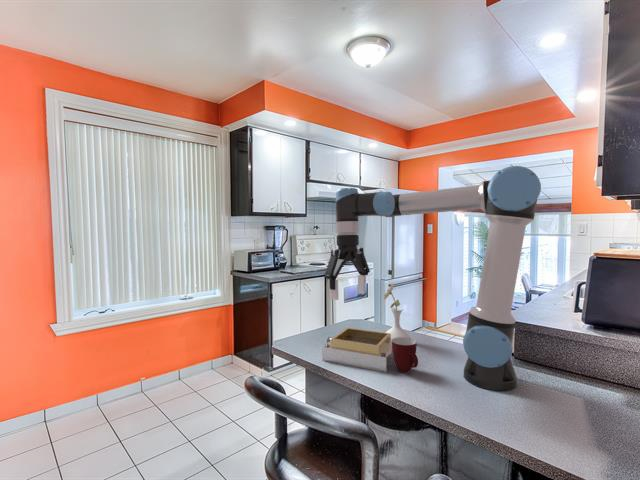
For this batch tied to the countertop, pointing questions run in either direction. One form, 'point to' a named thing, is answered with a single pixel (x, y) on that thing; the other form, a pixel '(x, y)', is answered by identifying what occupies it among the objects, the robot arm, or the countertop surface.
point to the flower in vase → (396, 319)
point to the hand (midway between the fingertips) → (348, 296)
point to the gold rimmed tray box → (360, 349)
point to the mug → (404, 354)
